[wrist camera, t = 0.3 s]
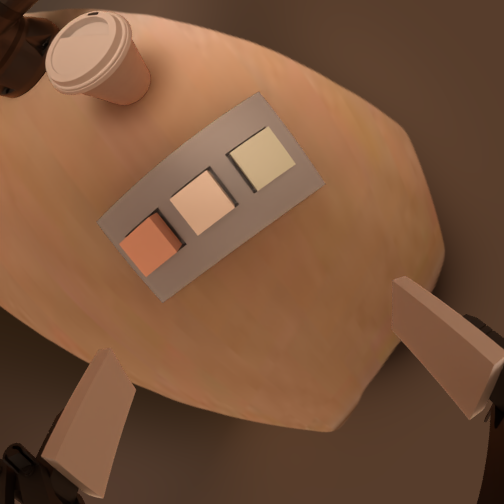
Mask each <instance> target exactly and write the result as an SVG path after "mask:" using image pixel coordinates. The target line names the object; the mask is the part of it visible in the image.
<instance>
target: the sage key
mask: <svg viewBox="0 0 504 504" xmlns="http://www.w3.org/2000/svg"><path fill="white" fill-rule="evenodd" d="M230 156H231V158H232V159H233V160H234V162H235V163H236V164H237V166H238V167H239V168H240V170H241V171H242V172H243V174H244V175H245V176H246V178H247V179H248V180H249V182H250V183H251V184H252V186H253V187H254V188H255V189H256V190H257V191H259V190H260V189H261V188H263V187H264V186H266V185H267V184H268V183H270V182H271V181H273V180H274V179H275V178H277V177H278V176H280V175H281V174H282V173H284V172H285V171H287V170H288V169H290V168H291V167H293V166H294V165H295V162H294V161H293V159H292V158H291V157H290V155H289V154H288V152H287V151H286V150H285V148H284V147H283V145H282V144H281V143H280V141H279V140H278V139H277V137H276V136H275V134H274V133H273V132H272V130H271V129H270V128H269V126H268V127H267V128H265V129H264V130H262V131H261V132H259V133H258V134H256V135H255V136H253V137H252V138H250V139H249V140H247V141H246V142H245V143H243V144H242V145H240V146H239V147H237V148H236V149H235V150H233V151H232V152H230Z"/></svg>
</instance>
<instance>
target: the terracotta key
mask: <svg viewBox="0 0 504 504" xmlns="http://www.w3.org/2000/svg"><path fill="white" fill-rule="evenodd" d="M119 245H120V246H121V248H122V249H123V250H124V251H125V253H126V254H127V255H128V256H129V258H130V259H131V260H132V261H133V262H134V264H135V265H136V266H137V267H138V268H139V270H140V271H141V272H142V273H143V274H144V276H145V277H147V276H148V275H149V274H150V273H152V272H153V271H154V270H155V269H157V268H158V267H159V266H160V265H162V264H163V263H164V262H165V261H167V260H168V259H169V258H170V257H172V256H173V255H174V254H175V253H177V251H178V250H179V248H180V247H181V245H182V243H181V242H180V241H179V239H178V238H177V237H176V236H175V234H174V233H173V232H172V231H171V229H170V228H169V227H168V226H167V224H166V223H165V222H164V221H163V219H162V218H161V217H160V215H159V214H158V213H155V214H153V215H151V216H150V217H148V218H147V219H146V220H145V221H144V222H143V223H142V224H140V225H139V226H138V227H137V228H136V229H135V230H134V231H133V232H131V233H130V234H129V235H128V236H127V237H126V238H125V239H124V240H123V241H122V242H121V243H119Z"/></svg>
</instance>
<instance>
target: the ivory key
mask: <svg viewBox="0 0 504 504" xmlns="http://www.w3.org/2000/svg"><path fill="white" fill-rule="evenodd" d="M170 201H171V202H172V204H173V205H174V206H175V207H176V209H177V210H178V211H179V213H180V214H181V215H182V216H183V218H184V219H185V220H186V221H187V223H188V224H189V225H190V227H191V228H192V229H193V230H194V232H195V233H196V234H197V235H200V234H201V233H202V232H204V231H205V230H206V229H207V228H209V227H210V226H211V225H213V224H214V223H215V222H217V221H218V220H219V219H221V218H222V217H223V216H225V215H226V214H227V213H229V212H230V211H231V210H233V209H234V208H235V205H234V203H233V202H232V200H231V199H230V198H229V196H228V195H227V194H226V192H225V191H224V190H223V188H222V187H221V186H220V184H219V183H218V182H217V180H216V179H215V178H214V177H213V175H212V174H211V173H210V171H208V170H206V171H205V172H203V173H202V174H201V175H200V176H198V177H197V178H196V179H194V180H193V181H192V182H191V183H189V184H188V185H187V186H186V187H184V188H183V189H182V190H181V191H179V192H178V193H177V194H176V195H174V196H173V197H172V198H171V199H170Z"/></svg>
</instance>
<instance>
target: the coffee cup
mask: <svg viewBox="0 0 504 504" xmlns="http://www.w3.org/2000/svg"><path fill="white" fill-rule="evenodd" d="M45 66H46V71H47V74H48V77H49V80H50V82H51V84H52V85H53V86H54V88H55V89H56V90H58V91H59V92H61V93H63V94H67V95H76V94H85V95H88V96H92V97H95V98H99V99H102V100H105V101H109V102H112V103H115V104H118V105H129V104H132V103H135V102H136V101H138V100H139V99H141V98H142V97H143V96H144V95H145V93H146V92H147V90H148V88H149V86H150V82H151V76H150V73H149V70H148V69H147V67H146V65H145V63H144V61H143V59H142V57H141V56H140V54H139V52H138V50H137V48H136V46H135V44H134V42H133V40H132V30H131V27H130V24H129V22H128V21H127V20H126V19H125V18H124V17H122V16H120V15H118V14H116V13H112V12H103V11H92V12H88V13H85V14H83V15H80V16H78V17H77V18H75V19H73V20H72V21H71V22H69V23H68V24H67V25H66V26H64V27H63V28H62V29H61V31H60V32H59V33H58V34H57V35H56V37H55V38H54V40H53V41H52V43H51V45H50V47H49V49H48V52H47V55H46V61H45Z"/></svg>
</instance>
